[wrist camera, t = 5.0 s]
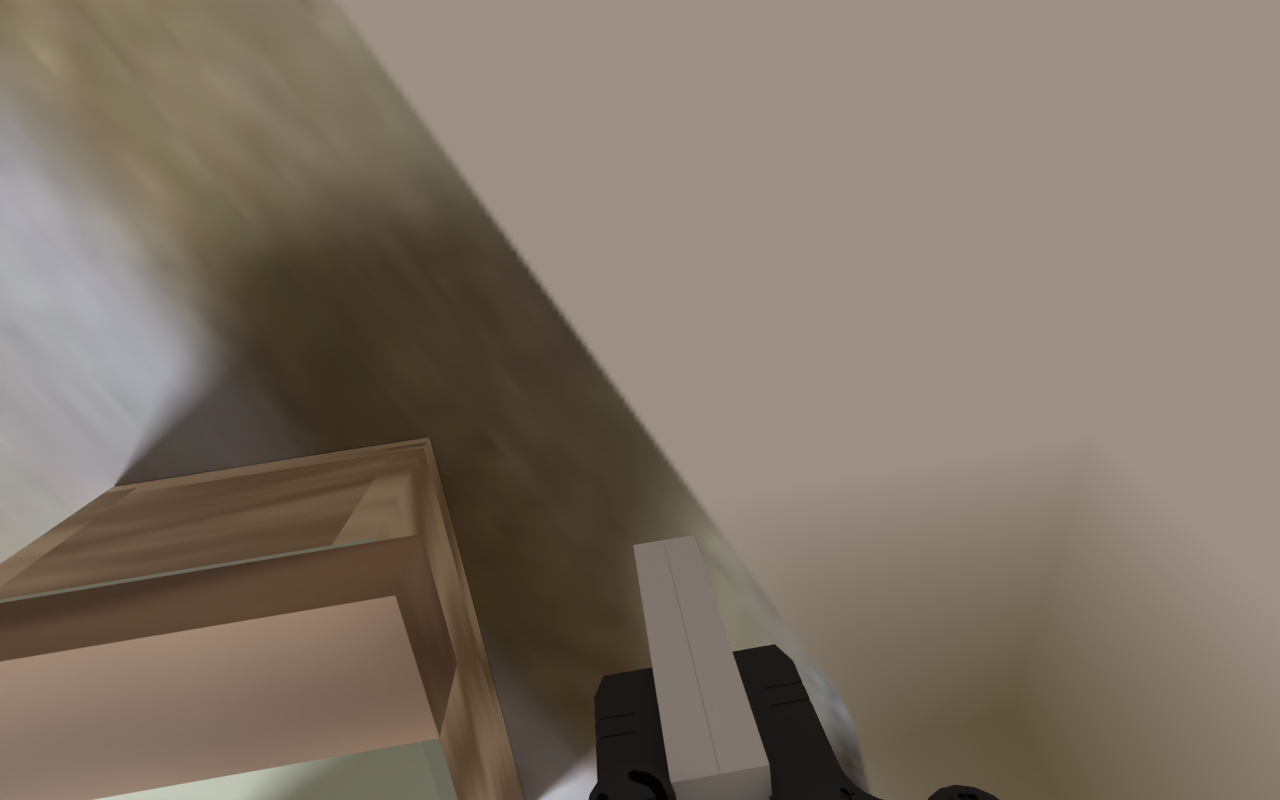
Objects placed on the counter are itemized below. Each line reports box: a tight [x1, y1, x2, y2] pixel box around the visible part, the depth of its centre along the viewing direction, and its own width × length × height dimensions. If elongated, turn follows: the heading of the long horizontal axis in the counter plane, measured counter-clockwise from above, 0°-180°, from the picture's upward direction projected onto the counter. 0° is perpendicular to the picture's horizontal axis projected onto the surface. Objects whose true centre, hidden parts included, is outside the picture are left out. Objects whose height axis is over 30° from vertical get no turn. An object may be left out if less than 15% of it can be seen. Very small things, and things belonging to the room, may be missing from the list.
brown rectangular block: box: [0, 534, 457, 800], centre depth 15 cm, size 4×16×2 cm, turn 97°
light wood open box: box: [0, 437, 524, 800], centre depth 25 cm, size 20×12×8 cm, turn 8°
